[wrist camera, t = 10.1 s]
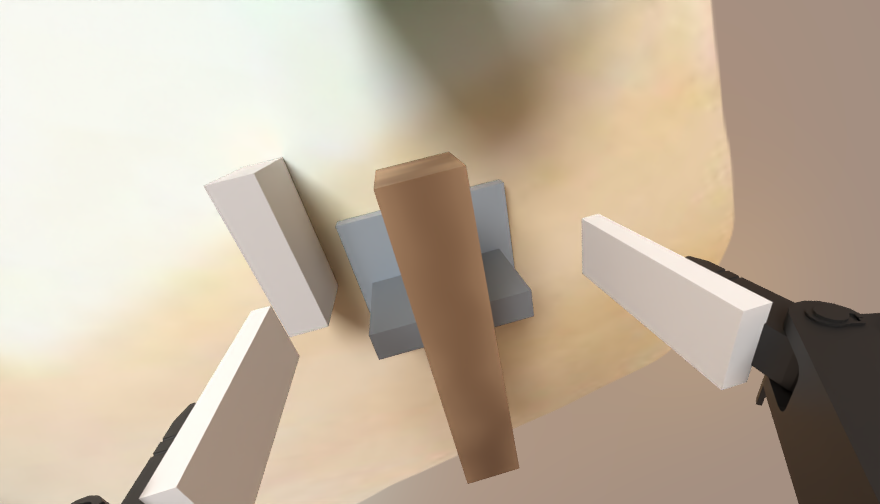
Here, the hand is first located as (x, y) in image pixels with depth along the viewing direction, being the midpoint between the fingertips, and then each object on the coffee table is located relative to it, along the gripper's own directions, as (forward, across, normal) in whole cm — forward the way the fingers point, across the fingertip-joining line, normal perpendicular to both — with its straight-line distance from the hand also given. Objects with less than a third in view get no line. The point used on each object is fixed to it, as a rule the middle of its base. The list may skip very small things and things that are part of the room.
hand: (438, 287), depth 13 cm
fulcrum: (+11, +1, -6) cm, 12 cm away
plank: (+4, 0, -5) cm, 7 cm away
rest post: (+11, -8, 0) cm, 14 cm away
